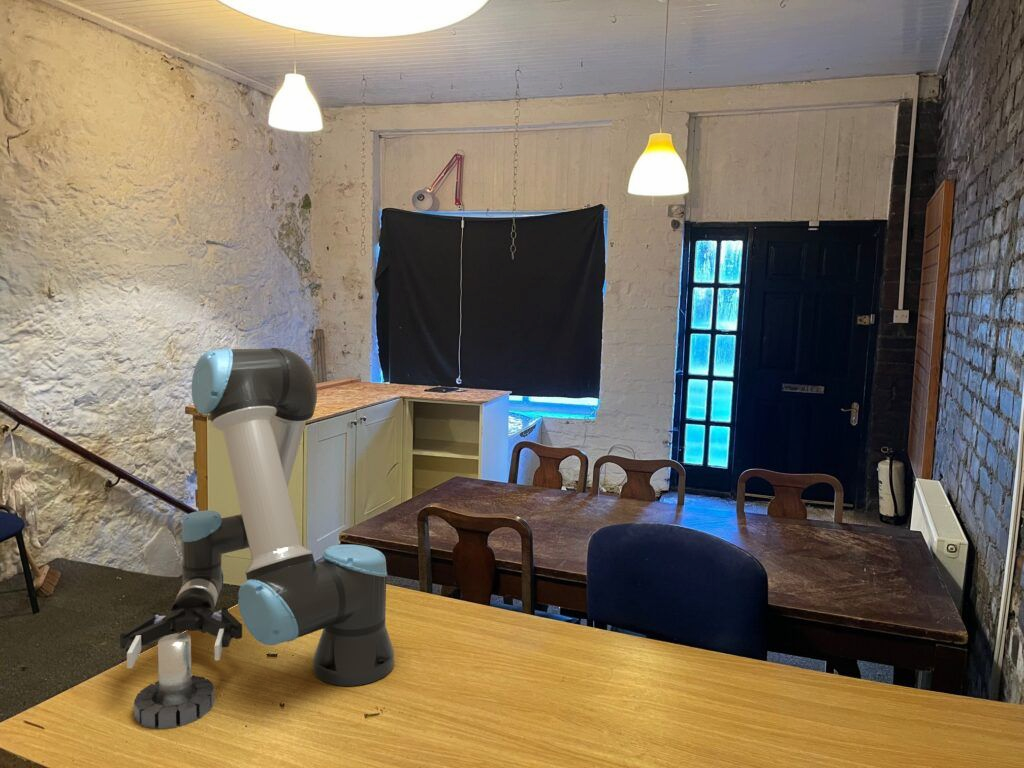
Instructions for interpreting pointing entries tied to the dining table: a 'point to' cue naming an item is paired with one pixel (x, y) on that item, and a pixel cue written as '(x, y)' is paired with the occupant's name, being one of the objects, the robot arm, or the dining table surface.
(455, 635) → the dining table surface
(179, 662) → the cylinder
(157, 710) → the ring
